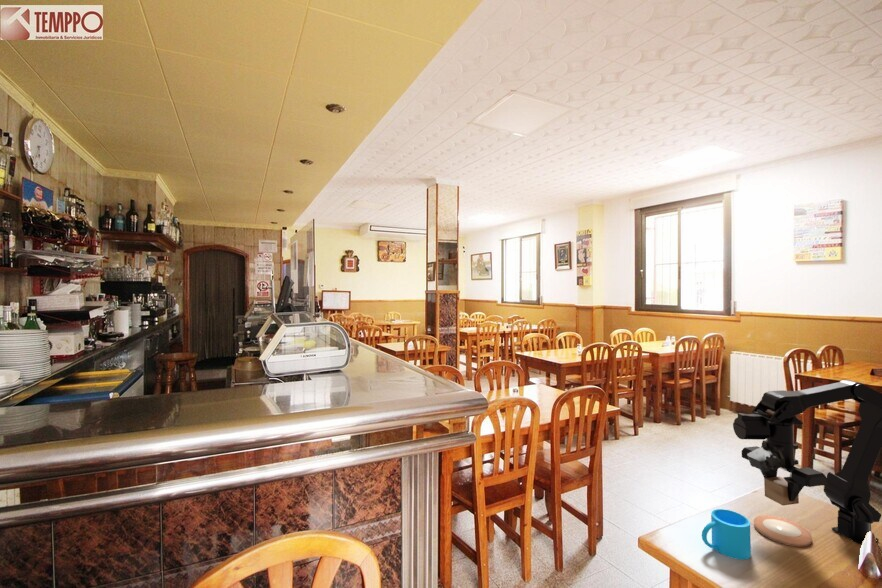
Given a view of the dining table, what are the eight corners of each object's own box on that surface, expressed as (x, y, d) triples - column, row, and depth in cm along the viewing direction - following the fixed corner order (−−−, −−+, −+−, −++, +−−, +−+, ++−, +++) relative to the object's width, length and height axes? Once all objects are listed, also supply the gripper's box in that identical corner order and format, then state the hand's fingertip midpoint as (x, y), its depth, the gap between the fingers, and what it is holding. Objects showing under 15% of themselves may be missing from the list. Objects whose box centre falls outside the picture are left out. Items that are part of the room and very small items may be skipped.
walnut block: (780, 494, 111) (779, 476, 111) (798, 503, 106) (798, 484, 106) (764, 496, 110) (764, 478, 110) (782, 505, 105) (782, 487, 105)
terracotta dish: (778, 517, 115) (778, 512, 115) (824, 543, 103) (824, 538, 103) (742, 522, 113) (742, 517, 113) (785, 549, 101) (785, 544, 101)
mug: (732, 537, 106) (731, 507, 106) (759, 557, 98) (758, 525, 98) (691, 541, 105) (690, 511, 105) (715, 562, 97) (714, 530, 97)
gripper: (724, 430, 116) (726, 482, 116) (790, 456, 97) (791, 518, 97) (757, 426, 117) (758, 478, 117) (827, 451, 99) (829, 513, 99)
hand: (781, 495), depth 108 cm, fingers closed on walnut block, 5 cm apart
